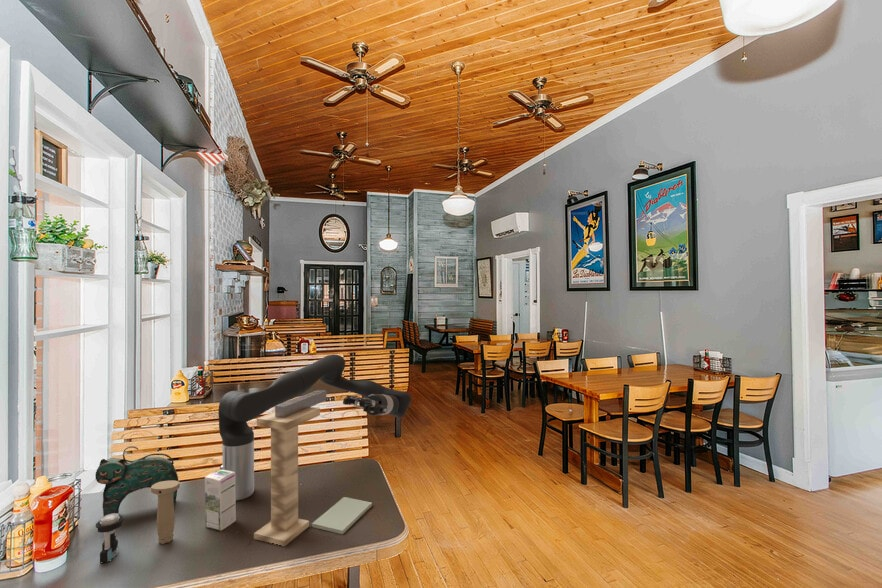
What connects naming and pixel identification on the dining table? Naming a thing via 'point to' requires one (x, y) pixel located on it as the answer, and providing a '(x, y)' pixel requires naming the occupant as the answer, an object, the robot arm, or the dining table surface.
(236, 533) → the dining table surface
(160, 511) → the handle
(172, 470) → the ceramic cat
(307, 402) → the long grey plank
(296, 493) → the stand
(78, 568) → the dining table surface
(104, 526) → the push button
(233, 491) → the syrup box
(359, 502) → the mat
